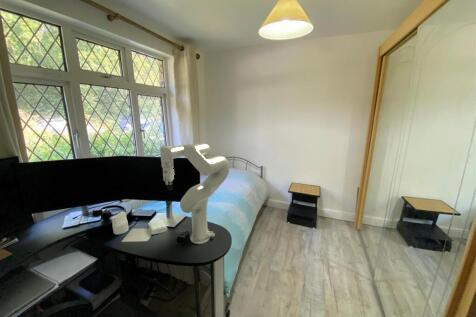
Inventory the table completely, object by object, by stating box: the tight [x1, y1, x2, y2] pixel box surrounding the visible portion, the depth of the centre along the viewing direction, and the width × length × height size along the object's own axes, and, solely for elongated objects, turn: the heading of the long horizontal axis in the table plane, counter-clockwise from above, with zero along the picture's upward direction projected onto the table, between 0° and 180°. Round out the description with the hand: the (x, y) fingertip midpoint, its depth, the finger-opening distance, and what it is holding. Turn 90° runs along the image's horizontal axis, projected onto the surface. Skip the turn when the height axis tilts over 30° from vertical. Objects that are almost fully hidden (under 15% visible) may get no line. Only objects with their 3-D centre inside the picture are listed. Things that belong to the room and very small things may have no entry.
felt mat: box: [121, 227, 153, 243], centre depth 131 cm, size 16×14×1 cm
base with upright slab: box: [111, 211, 130, 235], centre depth 135 cm, size 9×9×12 cm
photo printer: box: [147, 219, 168, 235], centre depth 137 cm, size 10×4×12 cm
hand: (169, 189), depth 136 cm, fingers closed
